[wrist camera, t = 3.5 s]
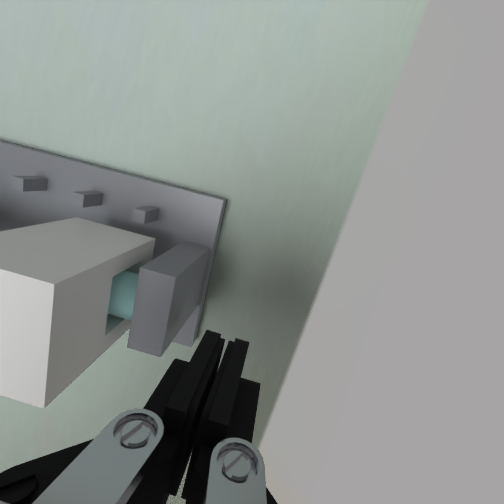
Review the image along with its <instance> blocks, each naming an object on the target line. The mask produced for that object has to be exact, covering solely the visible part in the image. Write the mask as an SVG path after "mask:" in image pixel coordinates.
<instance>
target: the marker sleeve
mask: <svg viewBox="0 0 504 504" xmlns="http://www.w3.org/2000/svg"><path fill="white" fill-rule="evenodd" d="M154 245H155V238H152V237H148V236H144V235H141V234H137V233H133V232H130V231H126V230H122V229H119V228H115V227H111V226H108V225H104V224H100V223H96V222H93V221H89V220H85V219H82V218H78V217H75V218H70V219H65V220H59V221H54V222H49V223H43V224H38V225H32V226H27V227H22V228H16V229H11V230H5V231H0V395H2V396H5V397H8V398H11V399H15V400H18V401H21V402H24V403H28V404H31V405H34V406H37V407H40V408H45V407H46V406H47V405H48V404H49V403H51V402H52V401H53V400H54V399H55V398H56V397H57V396H58V395H59V394H60V393H61V392H62V391H63V390H64V389H65V388H66V387H68V386H69V385H70V384H71V383H72V382H73V381H74V380H75V379H76V378H77V377H78V376H79V375H80V374H81V373H82V372H83V371H85V370H86V369H87V368H88V367H89V366H90V365H91V364H92V363H93V362H94V361H95V360H96V359H97V358H98V357H99V356H101V355H102V354H103V353H104V352H105V351H106V350H107V349H108V348H109V347H110V346H111V345H112V344H113V343H114V342H115V341H116V340H118V339H119V338H120V337H121V336H122V335H123V334H124V333H125V332H126V331H127V330H128V329H129V328H130V326H131V320H128V319H124V318H121V317H117V316H114V315H110V314H108V307H109V300H110V293H111V285H112V278H113V276H115V275H117V274H119V273H120V272H122V271H124V270H125V271H129V272H133V273H136V274H139V270H140V267H142V266H143V265H145V264H147V263H148V262H150V261H152V257H153V251H154Z"/></svg>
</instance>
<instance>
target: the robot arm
mask: <svg viewBox="0 0 504 504" xmlns="http://www.w3.org/2000/svg"><path fill="white" fill-rule="evenodd" d="M220 337H221V334H219V333H216V332H212V331H209V330H207V331H206V332H205V334H204V336H203V338H202V340H201V342H200V344H199V345H198V347H197V349H196V351H195V353H194V355H193V357H192V358H191V360H190V362H186V361H183V360H179V359H174V361H173V362H172V364H171V365H170V367H169V368H168V370H167V372H166V373H165V375H164V376H163V378H162V380H161V381H160V383H159V384H158V386H157V388H156V389H155V391H154V392H153V394H152V396H151V397H150V399H149V400H148V402H147V403H146V405H145V407H144V408H143V409H132V410H127V411H125V412H123V413H121V414H119V415H118V416H117V417H115V418H114V419H113V420H112V421H111V422H110V423H109V424H108V425H107V426H106V427H105V428H104V429H103V430H102V431H101V432H100V434H99V435H98V436H97V437H96V438H95V439H92V440H89V441H86V442H84V443H81V444H78V445H75V446H72V447H69V448H66V449H63V450H60V451H57V452H55V453H52V454H49V455H46V456H43V457H40V458H37V459H34V460H31V461H28V462H26V463H23V464H20V465H17V466H14V467H12V468H10V469H8V470H5V471H3V472H2V473H0V504H166V502H167V499H168V496H169V494H170V495H173V496H176V494H177V492H178V489H179V486H180V483H181V480H182V478H183V475H184V472H185V469H186V467H187V464H188V461H189V458H190V455H191V453H192V455H191V459H190V463H189V467H188V471H187V475H186V479H185V484H184V488H183V492H182V496H181V498H183V499H186V503H185V504H277V502H276V501H275V499H274V498H273V496H272V495H271V493H270V492H269V491H268V489H267V488H266V482H265V467H264V461H263V457H262V456H261V454H260V452H259V450H258V449H257V448H256V447H255V446H254V445H253V444H252V437H253V430H254V424H255V417H256V411H257V404H258V397H259V391H260V383H257V382H254V381H250V380H247V379H244V378H241V374H242V370H243V366H244V362H245V358H246V354H247V350H248V346H249V342H247V341H244V340H240V339H237V338H236V339H235V342H233V341H229V342H228V345H227V348H226V350H225V353H224V356H223V359H222V361H221V364H220V367H219V362H220V358H221V354H222V350H223V346H224V342H225V339H222V338H220ZM218 367H219V369H218ZM217 371H218V372H217Z"/></svg>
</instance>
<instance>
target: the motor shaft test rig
mask: <svg viewBox="0 0 504 504" xmlns="http://www.w3.org/2000/svg"><path fill="white" fill-rule="evenodd" d="M226 201H227V199H225V198H221V197H217V196H213V195H210V194H206V193H202V192H198V191H194V190H190V189H186V188H183V187H179V186H175V185H171V184H167V183H163V182H160V181H156V180H152V179H148V178H144V177H140V176H137V175H133V174H129V173H125V172H121V171H117V170H114V169H110V168H106V167H102V166H98V165H94V164H91V163H87V162H83V161H79V160H75V159H71V158H68V157H64V156H60V155H56V154H52V153H48V152H45V151H41V150H37V149H33V148H29V147H25V146H22V145H18V144H14V143H10V142H6V141H2V140H0V231H5V230H11V229H16V228H22V227H27V226H32V225H38V224H43V223H49V222H54V221H59V220H65V219H70V218H75V217H78V218H82V219H85V220H89V221H93V222H96V223H100V224H104V225H108V226H111V227H115V228H119V229H122V230H126V231H130V232H133V233H137V234H141V235H144V236H148V237H152V238H155V245H154V251H153V257H152V261H150V262H148V263H147V264H145V265H143V266H142V267H140V270H139V274H136V273H133V272H129V271H125V270H124V271H122V272H120V273H119V274H117V275H115V276H113V278H112V285H111V293H110V300H109V307H108V314H110V315H114V316H117V317H121V318H124V319H128V320H131V326H130V328H129V329H130V333H129V339H128V345H127V347H128V348H131V349H135V350H138V351H142V352H145V353H148V354H152V355H155V356H159V357H161V356H162V355H163V353H164V352H165V350H166V349H167V348H168V346H169V345H170V343H171V342H172V341H173V342H177V343H180V344H184V345H187V346H192V345H193V343H194V341H195V340H196V337H197V332H198V328H199V323H200V319H201V314H202V310H203V305H204V301H205V296H206V292H207V287H208V283H209V278H210V274H211V269H212V265H213V260H214V256H215V251H216V247H217V242H218V238H219V233H220V229H221V224H222V220H223V215H224V210H225V206H226Z"/></svg>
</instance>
